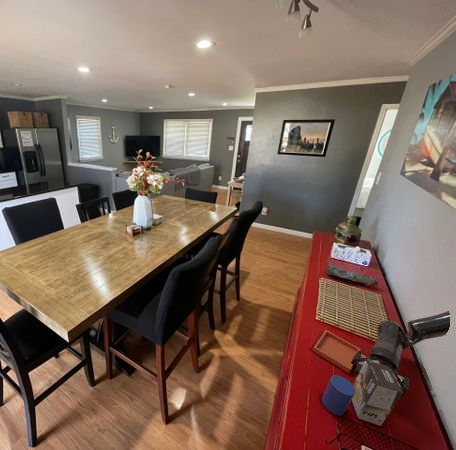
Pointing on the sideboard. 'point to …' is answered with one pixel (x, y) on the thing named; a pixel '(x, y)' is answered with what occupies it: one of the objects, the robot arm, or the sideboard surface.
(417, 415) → the sideboard surface
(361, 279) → the dark stone rod
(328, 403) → the blue tin
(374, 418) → the coffee box
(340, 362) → the tray
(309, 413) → the sideboard surface
